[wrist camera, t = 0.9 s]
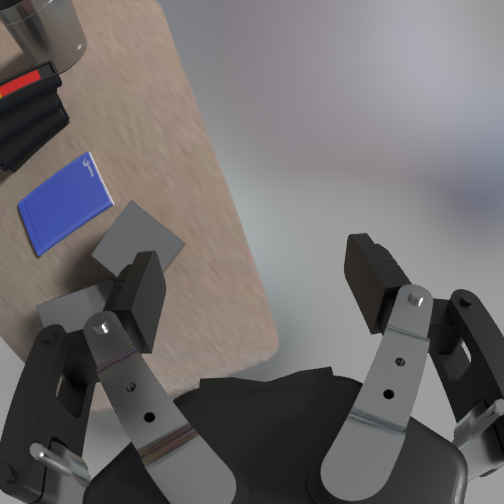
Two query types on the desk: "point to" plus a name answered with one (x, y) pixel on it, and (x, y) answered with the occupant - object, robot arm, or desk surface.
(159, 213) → the desk surface
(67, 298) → the cube cover
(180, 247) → the grey tall block
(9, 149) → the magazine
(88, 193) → the hard drive
